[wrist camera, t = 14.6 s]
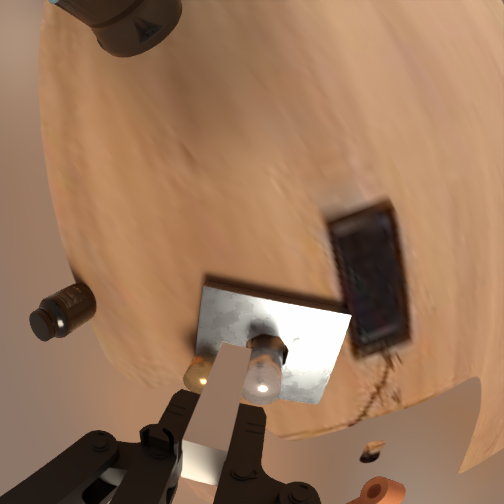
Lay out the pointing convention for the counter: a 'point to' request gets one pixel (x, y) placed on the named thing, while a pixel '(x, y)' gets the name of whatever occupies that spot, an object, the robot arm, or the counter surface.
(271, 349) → the rounded peg
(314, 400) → the plate
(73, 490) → the robot arm
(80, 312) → the supplement bottle
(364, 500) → the crank
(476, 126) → the counter surface
